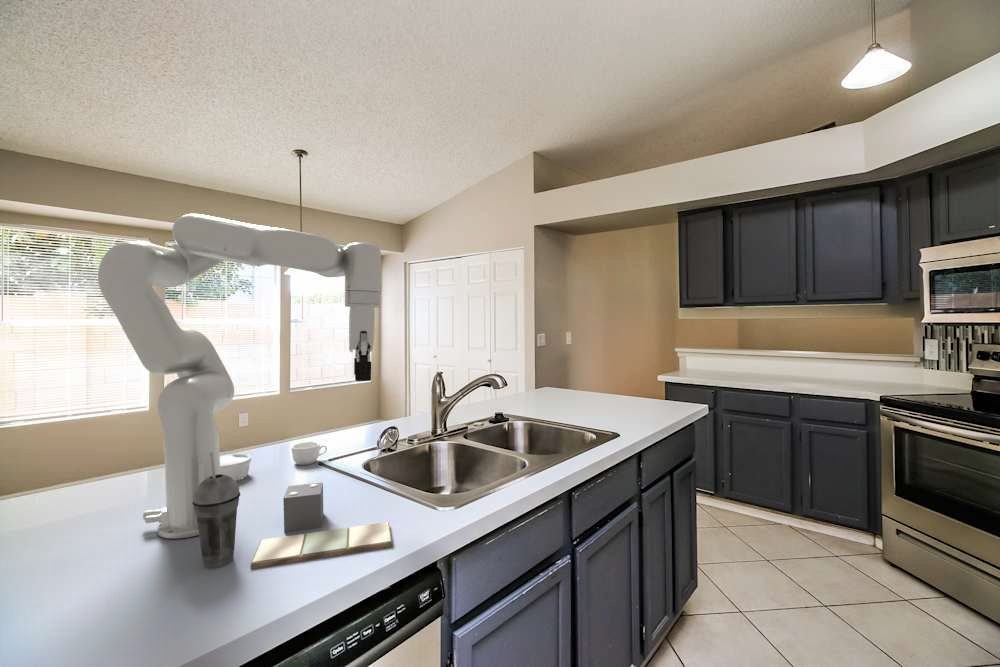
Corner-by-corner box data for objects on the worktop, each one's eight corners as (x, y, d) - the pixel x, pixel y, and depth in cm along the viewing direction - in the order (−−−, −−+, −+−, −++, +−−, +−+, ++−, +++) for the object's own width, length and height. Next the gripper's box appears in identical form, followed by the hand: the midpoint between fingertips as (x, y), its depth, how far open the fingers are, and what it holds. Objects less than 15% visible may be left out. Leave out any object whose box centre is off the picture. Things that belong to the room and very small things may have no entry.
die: (284, 532, 92) (283, 497, 92) (289, 517, 98) (288, 485, 98) (321, 527, 94) (320, 493, 94) (323, 513, 101) (322, 481, 100)
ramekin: (260, 473, 128) (260, 454, 127) (227, 487, 117) (227, 467, 117) (228, 470, 130) (227, 452, 130) (193, 484, 119) (192, 464, 119)
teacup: (294, 468, 131) (294, 450, 131) (289, 461, 137) (289, 444, 137) (330, 462, 137) (329, 444, 137) (323, 455, 143) (323, 439, 143)
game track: (250, 568, 78) (250, 563, 78) (261, 544, 87) (261, 539, 87) (392, 546, 86) (392, 541, 86) (389, 525, 94) (388, 521, 94)
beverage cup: (250, 550, 85) (247, 444, 84) (228, 572, 77) (224, 456, 77) (210, 551, 84) (207, 445, 84) (184, 573, 77) (180, 457, 76)
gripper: (344, 301, 106) (344, 373, 107) (344, 298, 90) (344, 383, 90) (377, 302, 109) (377, 372, 109) (383, 299, 92) (382, 382, 93)
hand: (362, 377), depth 100 cm, fingers open, 9 cm apart
